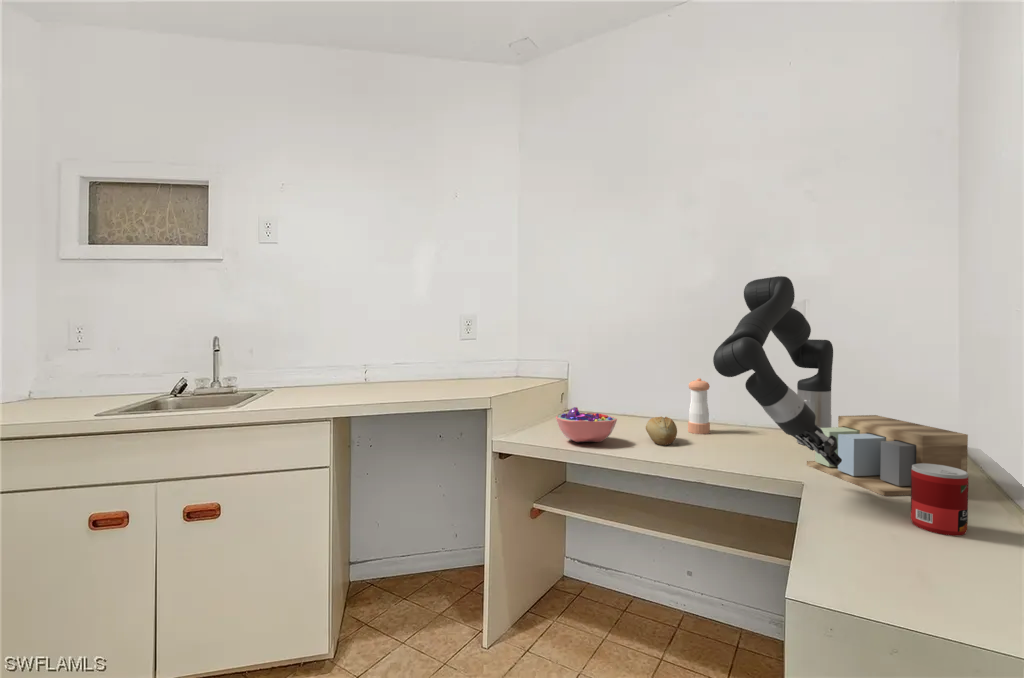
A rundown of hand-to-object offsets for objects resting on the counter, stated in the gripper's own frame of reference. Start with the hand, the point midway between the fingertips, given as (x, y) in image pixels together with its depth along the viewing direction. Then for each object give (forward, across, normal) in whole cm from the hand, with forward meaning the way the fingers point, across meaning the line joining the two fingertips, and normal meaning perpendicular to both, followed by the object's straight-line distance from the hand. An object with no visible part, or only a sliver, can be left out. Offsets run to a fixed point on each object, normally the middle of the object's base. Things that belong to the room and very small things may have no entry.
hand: (836, 462), depth 112 cm
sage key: (+13, +16, -7) cm, 22 cm away
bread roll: (-9, +52, +18) cm, 56 cm away
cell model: (-26, +54, +36) cm, 70 cm away
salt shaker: (+4, +64, +5) cm, 65 cm away
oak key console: (+17, +8, -8) cm, 21 cm away
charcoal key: (+16, 0, -10) cm, 19 cm away
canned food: (+7, -21, +2) cm, 22 cm away
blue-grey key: (+13, +8, -7) cm, 17 cm away
